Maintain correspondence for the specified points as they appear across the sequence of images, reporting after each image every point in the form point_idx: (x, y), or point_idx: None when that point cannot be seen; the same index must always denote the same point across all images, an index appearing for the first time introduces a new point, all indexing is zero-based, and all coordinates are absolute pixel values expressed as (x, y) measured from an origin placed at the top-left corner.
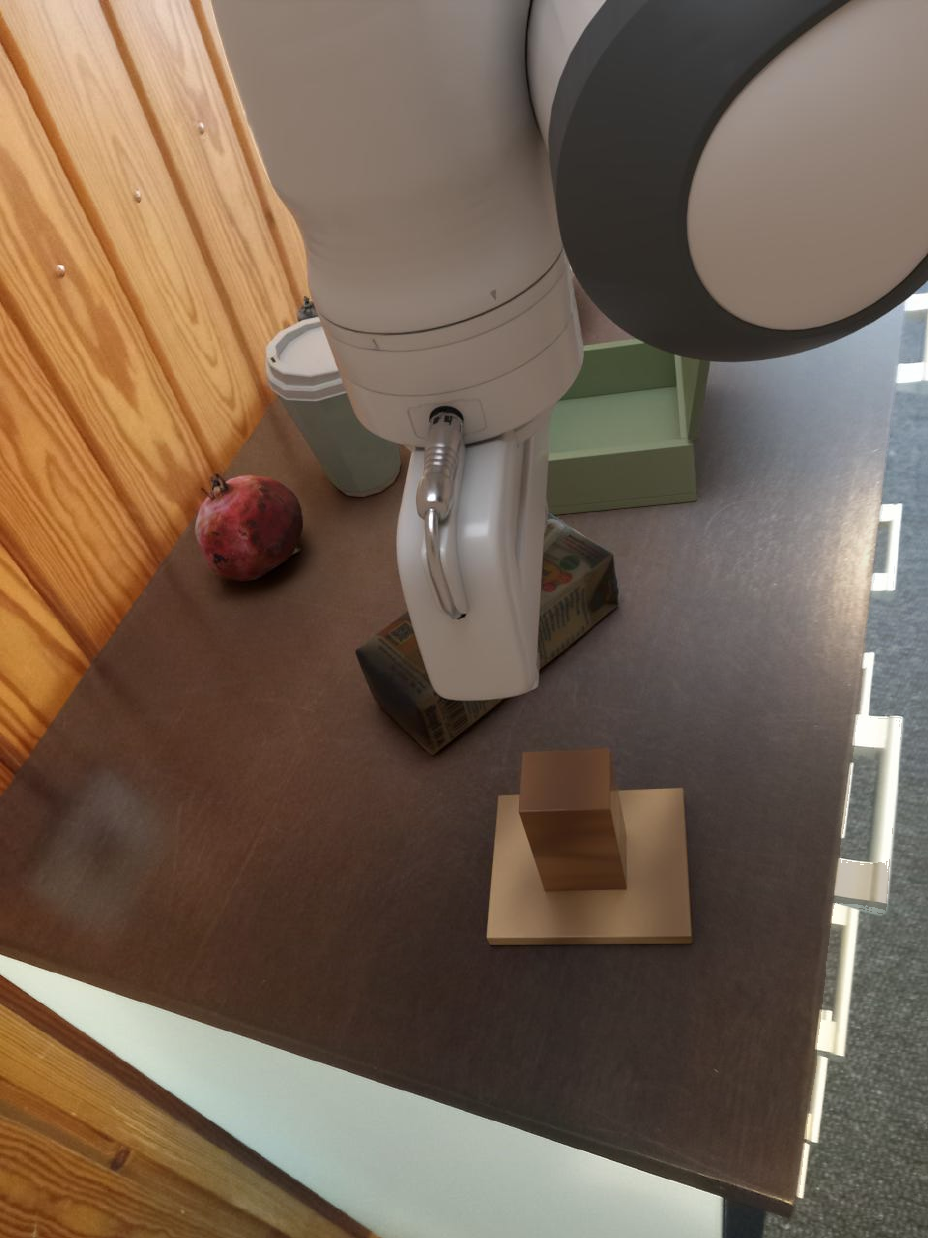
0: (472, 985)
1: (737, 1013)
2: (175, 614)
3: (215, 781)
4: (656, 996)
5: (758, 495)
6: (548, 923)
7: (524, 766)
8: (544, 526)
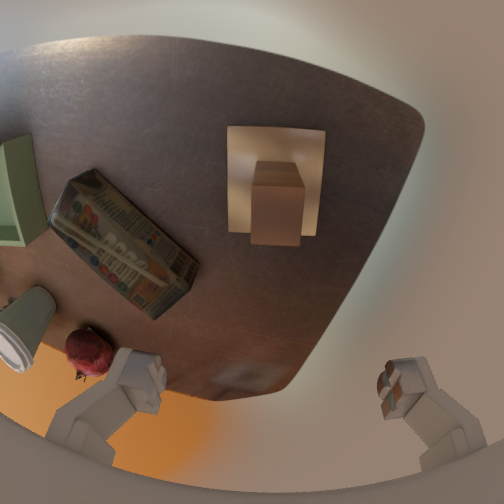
0: (333, 239)
1: (361, 115)
2: None
3: (216, 349)
4: (349, 152)
5: (29, 100)
6: (311, 205)
7: (263, 243)
8: (321, 500)
